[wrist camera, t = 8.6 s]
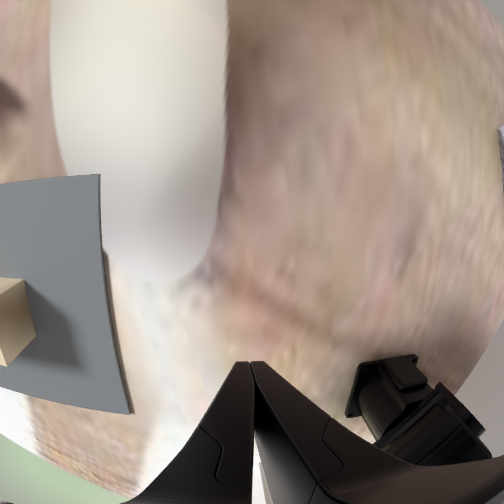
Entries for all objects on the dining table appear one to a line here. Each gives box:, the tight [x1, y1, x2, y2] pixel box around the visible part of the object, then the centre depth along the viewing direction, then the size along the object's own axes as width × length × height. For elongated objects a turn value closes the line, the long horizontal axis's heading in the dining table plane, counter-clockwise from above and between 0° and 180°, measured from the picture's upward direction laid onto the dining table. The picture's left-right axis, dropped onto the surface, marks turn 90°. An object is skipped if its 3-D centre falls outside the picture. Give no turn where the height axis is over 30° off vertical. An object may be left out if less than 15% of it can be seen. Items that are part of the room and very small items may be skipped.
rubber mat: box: [0, 174, 131, 415], centre depth 19 cm, size 20×22×1 cm
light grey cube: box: [252, 463, 273, 504], centre depth 24 cm, size 6×6×6 cm
